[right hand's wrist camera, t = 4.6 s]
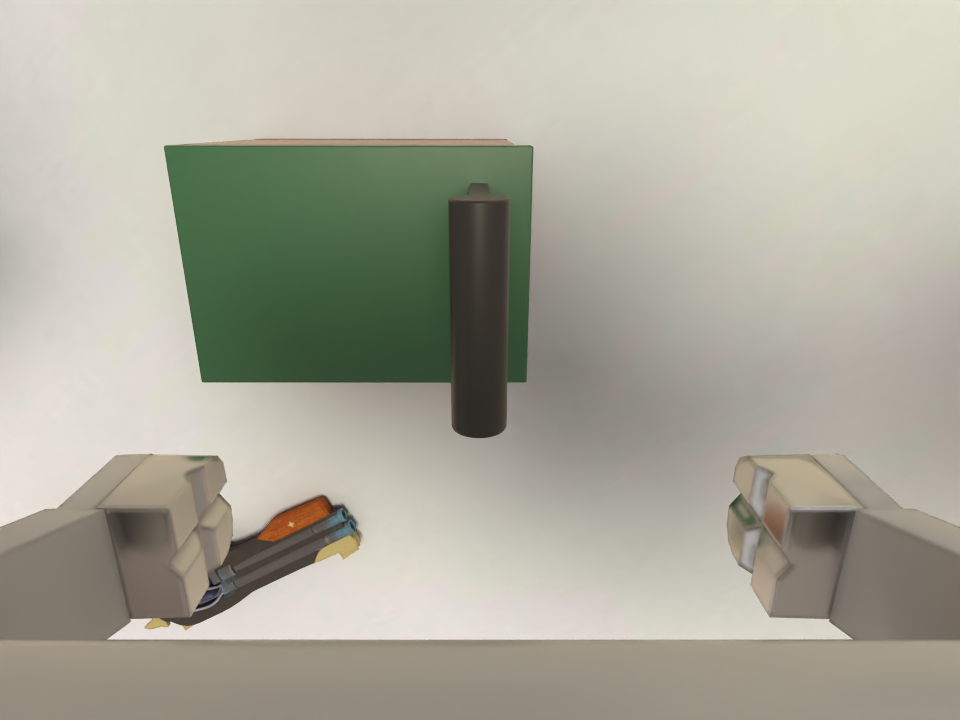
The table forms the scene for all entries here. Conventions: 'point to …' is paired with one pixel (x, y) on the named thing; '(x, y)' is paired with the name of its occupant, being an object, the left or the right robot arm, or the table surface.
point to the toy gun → (274, 556)
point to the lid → (360, 266)
